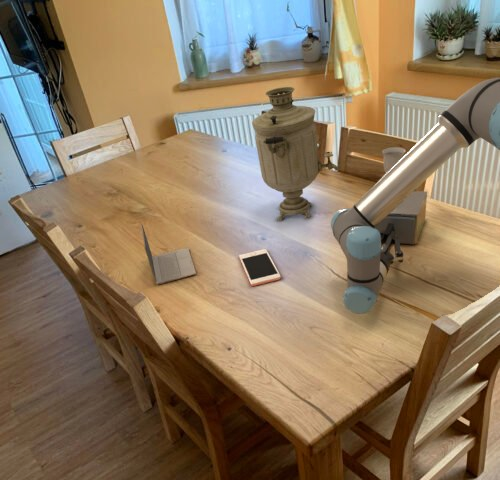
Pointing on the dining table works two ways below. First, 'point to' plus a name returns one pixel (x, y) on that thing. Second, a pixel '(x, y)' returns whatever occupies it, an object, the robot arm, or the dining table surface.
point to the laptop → (169, 263)
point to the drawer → (399, 227)
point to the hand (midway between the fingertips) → (391, 227)
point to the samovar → (288, 150)
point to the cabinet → (413, 210)
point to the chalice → (392, 157)
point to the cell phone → (259, 267)
